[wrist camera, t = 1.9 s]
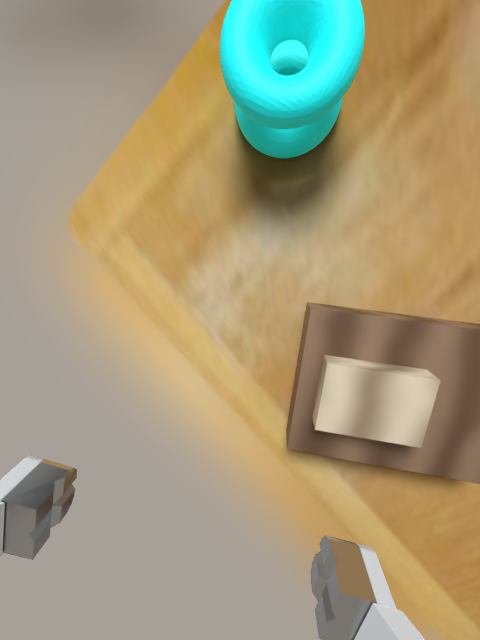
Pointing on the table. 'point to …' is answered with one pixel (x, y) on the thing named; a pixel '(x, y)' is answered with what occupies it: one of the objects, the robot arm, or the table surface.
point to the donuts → (290, 68)
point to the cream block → (374, 400)
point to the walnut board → (403, 350)
